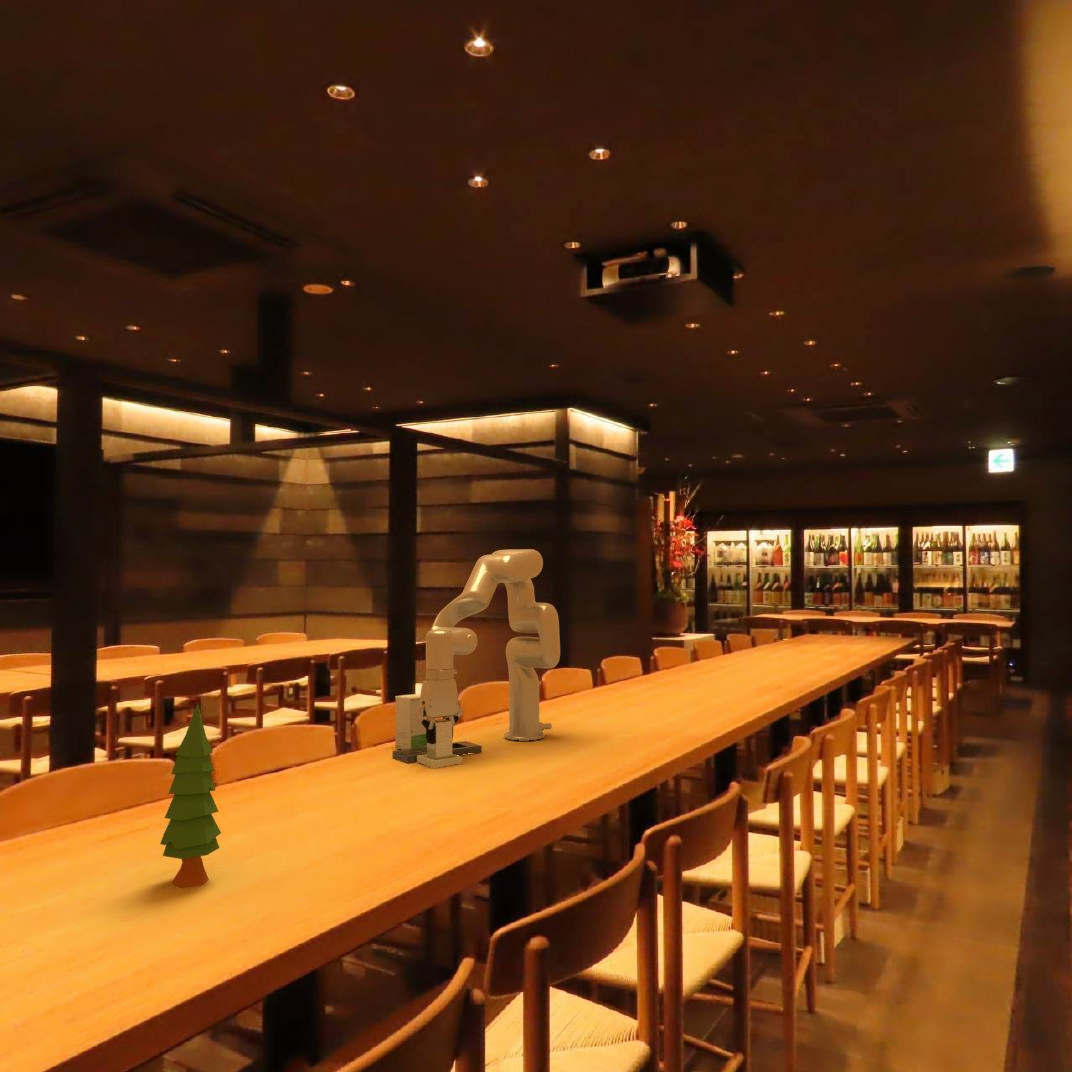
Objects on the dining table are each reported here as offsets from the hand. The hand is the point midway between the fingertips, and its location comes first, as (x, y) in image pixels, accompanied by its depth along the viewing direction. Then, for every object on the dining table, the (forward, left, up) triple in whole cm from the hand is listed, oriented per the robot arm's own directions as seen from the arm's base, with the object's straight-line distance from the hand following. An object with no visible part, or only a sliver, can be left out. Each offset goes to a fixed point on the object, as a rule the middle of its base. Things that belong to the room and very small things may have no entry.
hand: (439, 741), depth 244 cm
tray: (0, 0, -6) cm, 6 cm away
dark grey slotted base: (-5, -9, -6) cm, 12 cm away
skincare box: (-4, -23, -6) cm, 24 cm away
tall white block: (0, 0, -4) cm, 4 cm away
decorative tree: (+81, +55, -6) cm, 98 cm away
